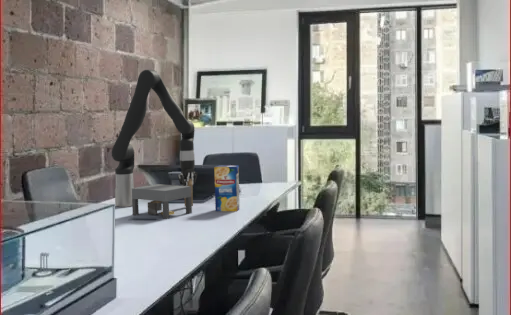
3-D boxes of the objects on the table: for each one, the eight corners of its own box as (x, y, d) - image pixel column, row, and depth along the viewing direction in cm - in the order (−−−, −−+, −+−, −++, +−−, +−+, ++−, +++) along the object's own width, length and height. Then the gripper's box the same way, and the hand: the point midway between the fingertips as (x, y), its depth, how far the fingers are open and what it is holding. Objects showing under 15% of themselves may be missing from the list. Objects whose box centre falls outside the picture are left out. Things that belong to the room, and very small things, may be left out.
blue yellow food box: (237, 211, 283) (236, 166, 282) (215, 211, 285) (214, 166, 283) (239, 208, 290) (238, 165, 288) (218, 208, 292) (217, 165, 290)
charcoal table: (132, 215, 279) (131, 188, 278) (158, 209, 294) (158, 184, 293) (166, 218, 266) (165, 190, 265) (191, 212, 281) (191, 186, 280)
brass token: (161, 215, 279) (160, 212, 279) (167, 214, 282) (167, 210, 282) (167, 216, 276) (167, 212, 276) (174, 214, 280) (174, 211, 280)
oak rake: (187, 205, 302) (186, 178, 301) (194, 206, 299) (193, 179, 298) (148, 213, 279) (146, 184, 278) (155, 214, 276) (154, 185, 275)
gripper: (190, 158, 305) (191, 190, 307) (172, 160, 294) (173, 193, 295) (201, 158, 301) (202, 191, 302) (183, 160, 290) (184, 194, 291)
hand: (188, 192), depth 299 cm, fingers closed on oak rake, 3 cm apart
